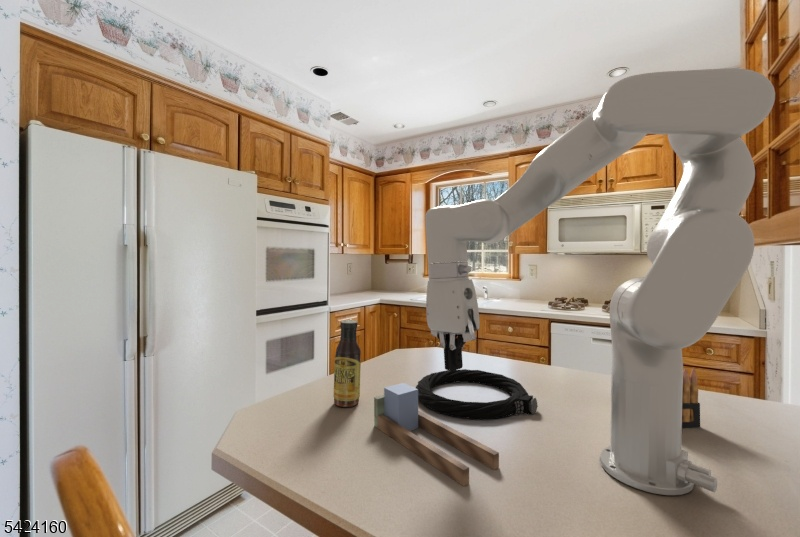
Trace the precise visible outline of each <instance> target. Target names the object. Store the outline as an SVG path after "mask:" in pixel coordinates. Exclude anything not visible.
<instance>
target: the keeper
mask: <svg viewBox="0 0 800 537" xmlns="http://www.w3.org/2000/svg"><path fill="white" fill-rule="evenodd" d="M383 395H384V416H386V417H387V418H389V419H390V420H392V421H394V422H395V423H397V424H399V425H400V426H402V427H404V428H405V429H407V430H409V431H410V432H412V431H414V430H417V429H419V426H418V411H419V399H418V389H416V387H414V386H412V385H409V384H408V383H406V382H401V383H398V384H397V383H396V384H393V385H389V386H385V387H384V388H383Z"/></svg>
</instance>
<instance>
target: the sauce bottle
mask: <svg viewBox="0 0 800 537" xmlns="http://www.w3.org/2000/svg"><path fill="white" fill-rule="evenodd" d="M339 327H340V338H339V343H338V344H337V347H336V350H335V355H334V368H333V370H334V372H333V402H334V405H335V406H337V407H341V408H352V407H355V406H356V405H357V404H358V403H359V401H360V395H361V364H362V363H361V362H362V360H361V354H362V352H361V350H362V349H361V347H360V346H359V344H358V341H357V329H358V321H356V320H352V319H348V320H347V319H346V320H341V321H340V324H339Z"/></svg>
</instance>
